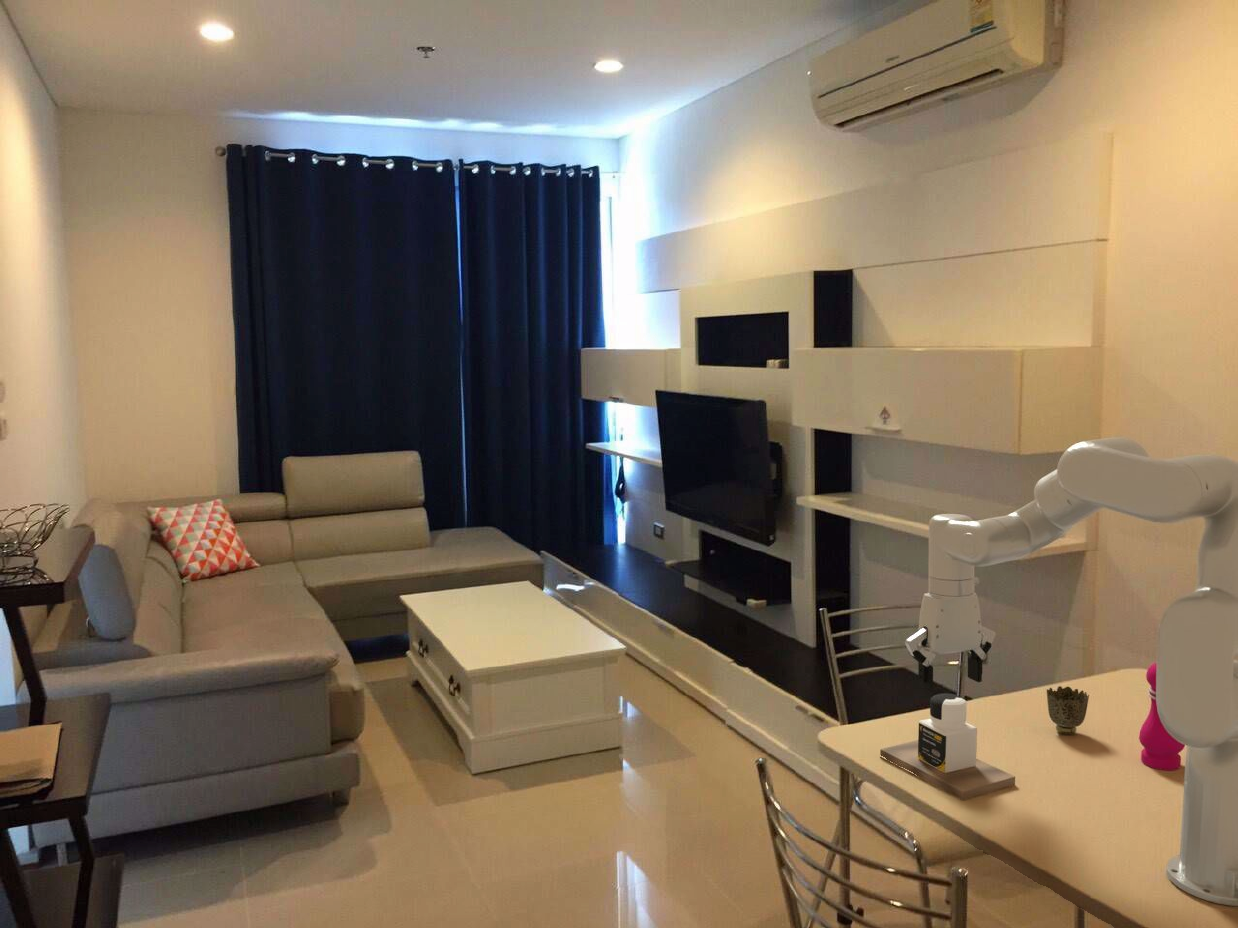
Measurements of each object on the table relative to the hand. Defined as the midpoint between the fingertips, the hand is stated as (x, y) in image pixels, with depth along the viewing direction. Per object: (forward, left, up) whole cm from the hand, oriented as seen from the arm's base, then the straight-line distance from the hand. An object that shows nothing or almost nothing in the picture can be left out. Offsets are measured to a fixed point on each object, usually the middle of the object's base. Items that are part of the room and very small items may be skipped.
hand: (950, 682), depth 180 cm
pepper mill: (-8, -38, -16) cm, 42 cm away
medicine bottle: (0, 0, -15) cm, 15 cm away
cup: (+9, -32, -16) cm, 37 cm away
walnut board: (+1, 0, -16) cm, 16 cm away
